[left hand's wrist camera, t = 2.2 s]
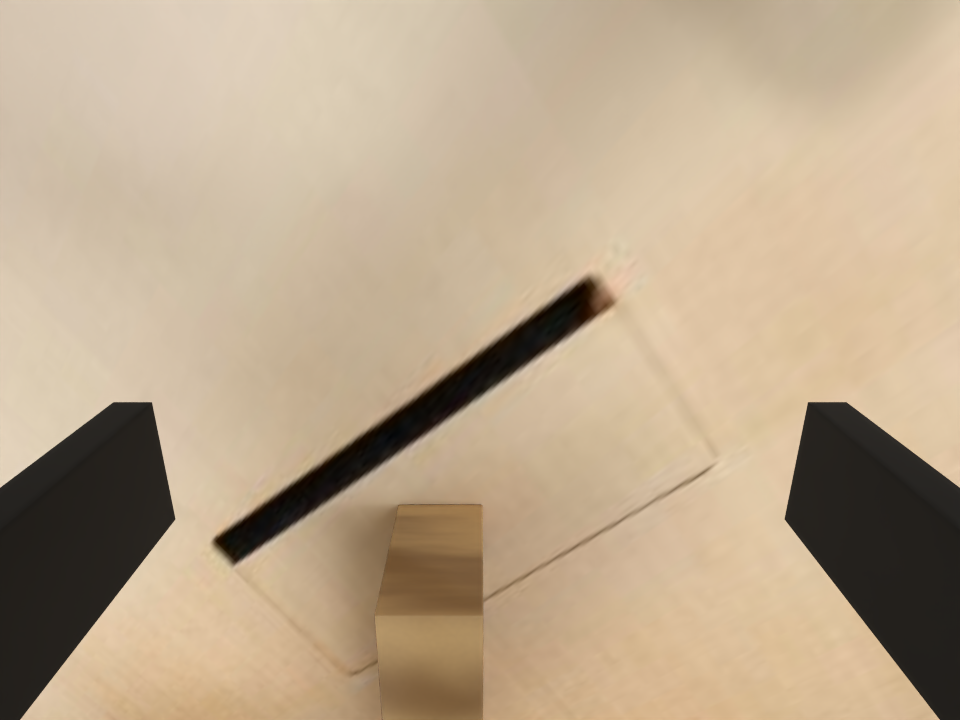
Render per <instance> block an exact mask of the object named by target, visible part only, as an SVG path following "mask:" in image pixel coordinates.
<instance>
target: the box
mask: <svg viewBox="0 0 960 720" xmlns="http://www.w3.org/2000/svg"><path fill="white" fill-rule="evenodd" d="M375 630H376V643H377V657H378V670H379V684H380V697H381V711H382V720H483V506H482V505H399V506H398V510H397V514H396V519H395V524H394V528H393V533H392V537H391V542H390V547H389V551H388V556H387V561H386V565H385V570H384V574H383V579H382V584H381V588H380V593H379V598H378V602H377V607H376V611H375Z"/></svg>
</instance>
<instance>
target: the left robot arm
mask: <svg viewBox="0 0 960 720" xmlns="http://www.w3.org/2000/svg"><path fill="white" fill-rule="evenodd" d="M174 520H175V515H174V510H173V505H172V500H171V495H170V490H169V485H168V480H167V475H166V470H165V465H164V460H163V455H162V450H161V445H160V440H159V435H158V430H157V425H156V420H155V416H154V411H153V406H152V402H113V403H112V404H111V405H109V406H108V407H107V408H105V409H104V410H103V411H101V412H100V413H99V414H97V415H96V416H95V417H94V418H92V419H91V420H90V421H88V422H87V423H86V424H84V425H83V426H82V427H80V428H79V429H78V430H76V431H75V432H74V433H72V434H71V435H70V436H68V437H67V438H66V439H64V440H63V441H62V442H60V443H59V444H58V445H56V446H55V447H54V448H52V449H51V450H50V451H48V452H47V453H46V454H44V455H43V456H42V457H40V458H39V459H38V460H36V461H35V462H34V463H33V464H31V465H30V466H29V467H27V468H26V469H25V470H23V471H22V472H21V473H19V474H18V475H17V476H15V477H14V478H13V479H11V480H10V481H9V482H7V483H6V484H5V485H3V486H2V487H1V488H0V720H20V719H21V718H22V717H23V715H24V714H25V713H26V711H27V710H28V709H29V707H30V706H31V705H32V704H33V702H34V701H35V700H36V698H37V697H38V696H39V695H40V693H41V692H42V691H43V689H44V688H45V687H46V686H47V684H48V683H49V682H50V680H51V679H52V678H53V676H54V675H55V674H56V673H57V671H58V670H59V669H60V667H61V666H62V665H63V664H64V662H65V661H66V660H67V658H68V657H69V656H70V655H71V653H72V652H73V651H74V649H75V648H76V647H77V646H78V644H79V643H80V642H81V640H82V639H83V638H84V636H85V635H86V634H87V633H88V631H89V630H90V629H91V627H92V626H93V625H94V624H95V622H96V621H97V620H98V618H99V617H100V616H101V615H102V613H103V612H104V611H105V609H106V608H107V607H108V606H109V604H110V603H111V602H112V600H113V599H114V598H115V596H116V595H117V594H118V593H119V591H120V590H121V589H122V587H123V586H124V585H125V584H126V582H127V581H128V580H129V578H130V577H131V576H132V575H133V573H134V572H135V571H136V569H137V568H138V567H139V566H140V564H141V563H142V562H143V560H144V559H145V558H146V556H147V555H148V554H149V553H150V551H151V550H152V549H153V547H154V546H155V545H156V544H157V542H158V541H159V540H160V538H161V537H162V536H163V535H164V533H165V532H166V531H167V529H168V528H169V527H170V525H171V524H172V523H173V522H174ZM785 520H786V522H787V523H788V524H789V525H790V527H791V528H792V529H793V531H794V532H795V533H796V535H797V536H798V537H799V538H800V540H801V541H802V542H803V544H804V545H805V546H806V547H807V549H808V550H809V551H810V553H811V554H812V555H813V556H814V558H815V559H816V560H817V562H818V563H819V564H820V566H821V567H822V568H823V569H824V571H825V572H826V573H827V575H828V576H829V577H830V578H831V580H832V581H833V582H834V584H835V585H836V586H837V587H838V589H839V590H840V591H841V593H842V594H843V595H844V596H845V598H846V599H847V600H848V602H849V603H850V604H851V606H852V607H853V608H854V609H855V611H856V612H857V613H858V615H859V616H860V617H861V618H862V620H863V621H864V622H865V624H866V625H867V626H868V627H869V629H870V630H871V631H872V633H873V634H874V635H875V636H876V638H877V639H878V640H879V642H880V643H881V644H882V646H883V647H884V648H885V649H886V651H887V652H888V653H889V655H890V656H891V657H892V658H893V660H894V661H895V662H896V664H897V665H898V666H899V667H900V669H901V670H902V671H903V673H904V674H905V675H906V676H907V678H908V679H909V680H910V682H911V683H912V684H913V686H914V687H915V688H916V689H917V691H918V692H919V693H920V695H921V696H922V697H923V698H924V700H925V701H926V702H927V704H928V705H929V706H930V707H931V709H932V710H933V711H934V713H935V714H936V715H937V717H938V718H939V719H940V720H960V488H959V487H958V486H957V485H955V484H954V483H953V482H951V481H950V480H949V479H947V478H946V477H945V476H943V475H942V474H941V473H939V472H938V471H937V470H935V469H934V468H933V467H931V466H930V465H929V464H927V463H926V462H925V461H923V460H922V459H921V458H920V457H918V456H917V455H916V454H914V453H913V452H912V451H910V450H909V449H908V448H906V447H905V446H904V445H902V444H901V443H900V442H898V441H897V440H896V439H894V438H893V437H892V436H890V435H889V434H888V433H886V432H885V431H884V430H882V429H881V428H880V427H878V426H877V425H876V424H874V423H873V422H872V421H870V420H869V419H868V418H866V417H865V416H864V415H863V414H861V413H860V412H859V411H857V410H856V409H855V408H853V407H852V406H851V405H849V404H848V403H847V402H808V406H807V411H806V416H805V420H804V425H803V430H802V435H801V440H800V445H799V450H798V455H797V460H796V465H795V470H794V475H793V480H792V485H791V490H790V495H789V500H788V505H787V510H786V515H785Z"/></svg>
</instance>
